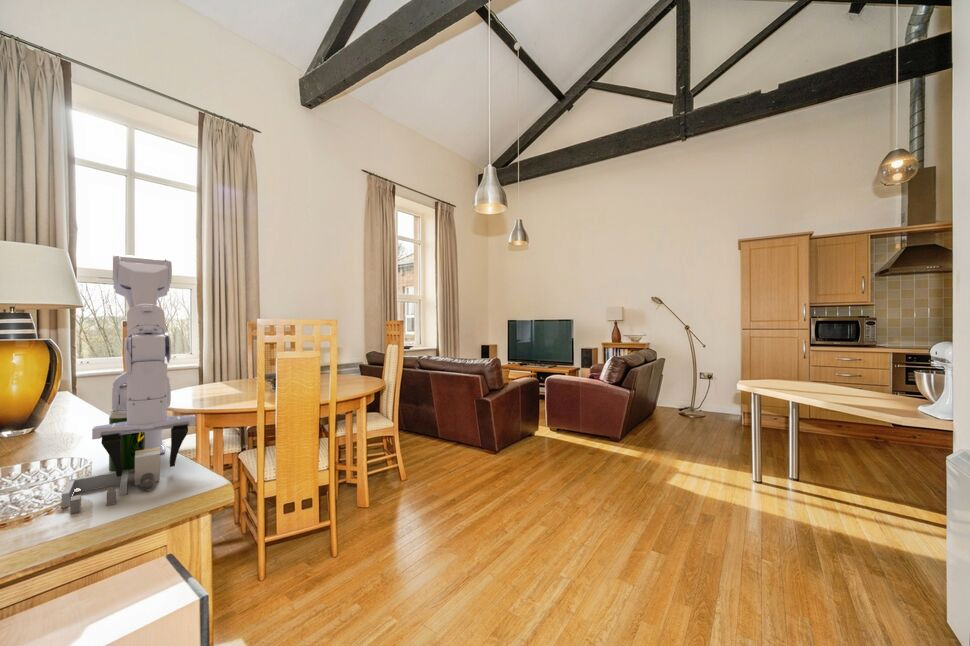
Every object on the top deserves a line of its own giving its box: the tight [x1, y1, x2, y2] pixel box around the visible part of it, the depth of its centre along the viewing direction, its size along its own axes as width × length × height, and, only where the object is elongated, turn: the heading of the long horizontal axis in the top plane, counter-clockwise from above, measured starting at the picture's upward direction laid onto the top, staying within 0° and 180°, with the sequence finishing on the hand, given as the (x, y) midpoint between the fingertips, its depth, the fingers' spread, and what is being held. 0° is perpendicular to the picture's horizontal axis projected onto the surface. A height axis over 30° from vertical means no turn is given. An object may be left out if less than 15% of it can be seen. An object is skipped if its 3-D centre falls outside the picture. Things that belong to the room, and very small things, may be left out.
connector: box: [134, 447, 161, 491], centre depth 72 cm, size 10×4×5 cm, turn 41°
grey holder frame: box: [61, 469, 129, 515], centre depth 66 cm, size 11×8×2 cm
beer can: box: [108, 408, 146, 474], centre depth 77 cm, size 5×5×12 cm
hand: (146, 469), depth 73 cm, fingers open, 7 cm apart
